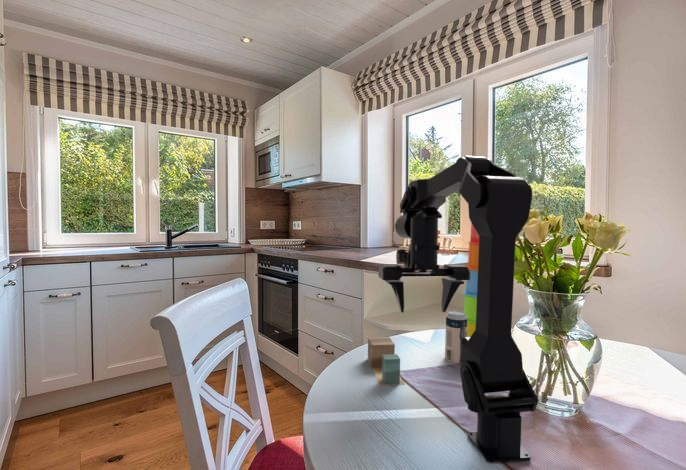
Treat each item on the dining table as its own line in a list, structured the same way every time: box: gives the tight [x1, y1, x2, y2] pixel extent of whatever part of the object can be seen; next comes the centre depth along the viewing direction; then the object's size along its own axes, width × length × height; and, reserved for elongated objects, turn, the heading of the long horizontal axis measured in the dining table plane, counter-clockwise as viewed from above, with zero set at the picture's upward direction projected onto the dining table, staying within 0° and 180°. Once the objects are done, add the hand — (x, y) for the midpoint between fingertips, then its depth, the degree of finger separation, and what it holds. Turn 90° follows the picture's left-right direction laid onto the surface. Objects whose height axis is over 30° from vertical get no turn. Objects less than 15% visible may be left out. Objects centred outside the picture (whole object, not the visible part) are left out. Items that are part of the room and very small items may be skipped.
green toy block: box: [367, 353, 406, 386], centre depth 78 cm, size 14×5×6 cm, turn 6°
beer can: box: [444, 310, 467, 364], centre depth 84 cm, size 5×5×12 cm
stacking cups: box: [462, 223, 479, 337], centre depth 95 cm, size 10×10×35 cm
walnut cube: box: [367, 336, 396, 369], centre depth 82 cm, size 5×5×5 cm
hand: (422, 312), depth 78 cm, fingers open, 9 cm apart
